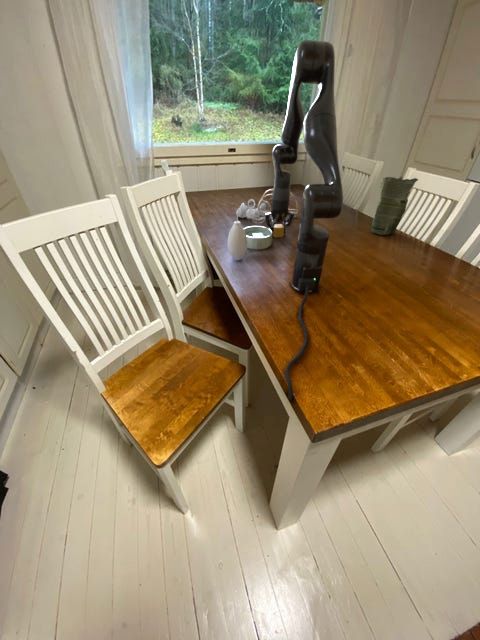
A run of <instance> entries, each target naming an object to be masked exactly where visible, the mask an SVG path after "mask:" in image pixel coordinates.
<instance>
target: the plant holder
mask: <svg viewBox="0 0 480 640" xmlns="http://www.w3.org/2000/svg"><path fill="white" fill-rule="evenodd" d="M273 189H274V188H269V189H267V190H266V191H265V192H264V193H263V194H262V195H261V198H260V199H259V201H258V203H257V204H256V201H255V200H254V199H253V198H250V199H248V201H247V204H245V203H244V202H242V203H241V205H240V206H239V208H237V210H236V212H235V215H236V216H237V215H238V218H241V219H244V218H247V220H250V221H252V222H253V223H255V224H256V222H255V221H261V222H259V224H262V223H263V221H262V220H264V219H265V216H264V215H265V213H270V212H271V210H272V198H273V197H272V195H273ZM268 192H271V193H268ZM265 198H267V199H268V200H265ZM291 198H293V199H294V201H295V208H290V207H288V211H289V212H293V213H294V218H296V217H297V216H296V215H295V214H298V212H301V209H300V205H299V204H300V203H299V200H298V197H297V196H295V195H294V194H293V193H292V191H290V198H289V200H290V199H291ZM260 216H261V217H260ZM272 218H273V217H272V216H271V215H270V218H269V220H272ZM288 218H289V216H288V215H287V216H286V218H285V220H286V222H287V220H288Z"/></svg>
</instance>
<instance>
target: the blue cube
mask: <svg viewBox="0 0 480 640" xmlns="http://www.w3.org/2000/svg"><path fill="white" fill-rule="evenodd" d="M252 237H257V238H258V237H264V236H263V234H262V233H252Z"/></svg>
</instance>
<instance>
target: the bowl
mask: <svg viewBox="0 0 480 640" xmlns="http://www.w3.org/2000/svg"><path fill="white" fill-rule="evenodd" d="M243 228H244V231H245V233H246V237H247V249H249V250H256V251H257V250H265V249H267V248H269V247H271V246H272V244H273V243H272V241H273V236H272V230H270V227H266V226H262V225H251V226H245V227H243ZM252 233H262V234H263V236H264V237H258V238H257V237H252Z"/></svg>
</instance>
